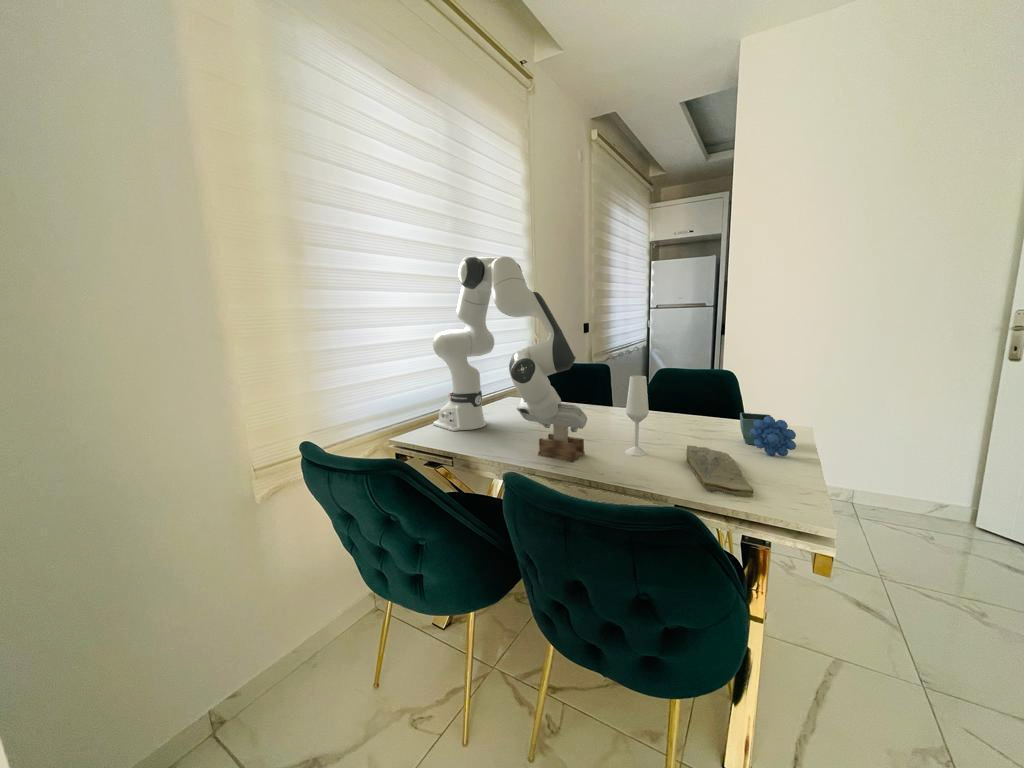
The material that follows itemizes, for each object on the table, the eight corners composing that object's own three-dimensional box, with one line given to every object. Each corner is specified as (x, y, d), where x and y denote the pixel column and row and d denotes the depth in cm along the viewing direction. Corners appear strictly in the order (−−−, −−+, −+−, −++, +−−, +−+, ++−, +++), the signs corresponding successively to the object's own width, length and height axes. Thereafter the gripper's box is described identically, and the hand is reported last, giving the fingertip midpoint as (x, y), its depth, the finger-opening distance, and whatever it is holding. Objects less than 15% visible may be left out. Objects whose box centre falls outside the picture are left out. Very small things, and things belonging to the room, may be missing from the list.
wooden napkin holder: (538, 455, 123) (538, 439, 122) (551, 448, 130) (550, 433, 129) (573, 462, 116) (573, 445, 115) (584, 454, 123) (584, 438, 122)
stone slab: (724, 446, 119) (758, 482, 90) (724, 459, 119) (757, 500, 91) (680, 443, 122) (700, 478, 93) (680, 456, 122) (699, 494, 94)
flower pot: (772, 448, 123) (774, 420, 122) (740, 445, 127) (741, 418, 126) (768, 440, 131) (770, 414, 130) (737, 437, 135) (739, 412, 133)
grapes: (748, 457, 117) (751, 417, 115) (748, 450, 122) (751, 412, 120) (796, 463, 111) (800, 422, 109) (794, 456, 116) (797, 416, 114)
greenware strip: (553, 451, 122) (553, 420, 121) (558, 449, 125) (558, 418, 123) (563, 453, 121) (563, 422, 119) (568, 450, 123) (568, 419, 121)
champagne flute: (647, 456, 119) (649, 378, 115) (624, 454, 121) (625, 378, 117) (647, 449, 125) (649, 375, 122) (625, 448, 128) (627, 375, 124)
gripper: (581, 397, 107) (595, 423, 117) (519, 391, 119) (537, 415, 129) (574, 416, 105) (589, 442, 114) (511, 408, 116) (530, 432, 126)
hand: (561, 428), depth 121 cm, fingers open, 8 cm apart
